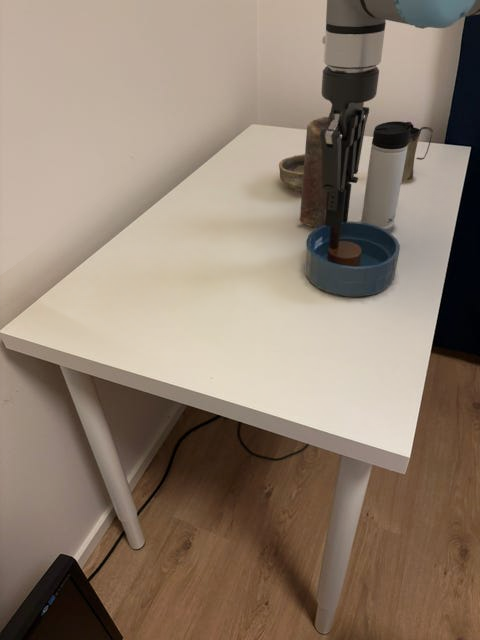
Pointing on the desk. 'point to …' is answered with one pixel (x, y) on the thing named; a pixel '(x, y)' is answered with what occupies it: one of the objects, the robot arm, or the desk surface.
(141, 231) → the desk surface
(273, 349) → the desk surface
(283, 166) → the bowl
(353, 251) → the ladle
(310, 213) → the brown cylinder
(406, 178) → the mug
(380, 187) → the travel mug
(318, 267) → the mixing bowl
